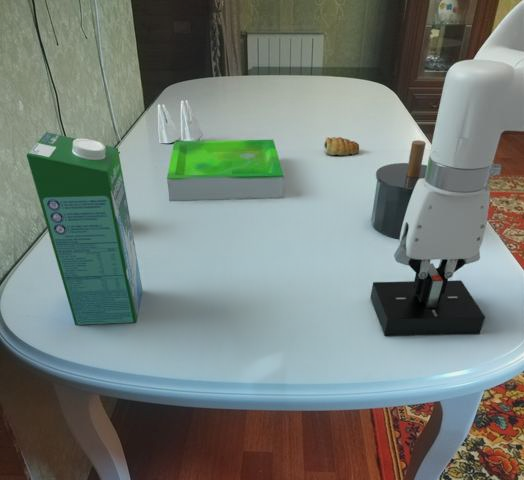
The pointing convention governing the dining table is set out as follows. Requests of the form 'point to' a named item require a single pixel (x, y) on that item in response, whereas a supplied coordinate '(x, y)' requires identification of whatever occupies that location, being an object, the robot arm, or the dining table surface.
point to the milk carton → (88, 227)
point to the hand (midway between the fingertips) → (426, 296)
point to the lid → (404, 170)
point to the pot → (389, 210)
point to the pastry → (340, 146)
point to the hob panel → (425, 310)
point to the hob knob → (433, 287)
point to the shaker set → (188, 125)
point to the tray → (224, 170)
